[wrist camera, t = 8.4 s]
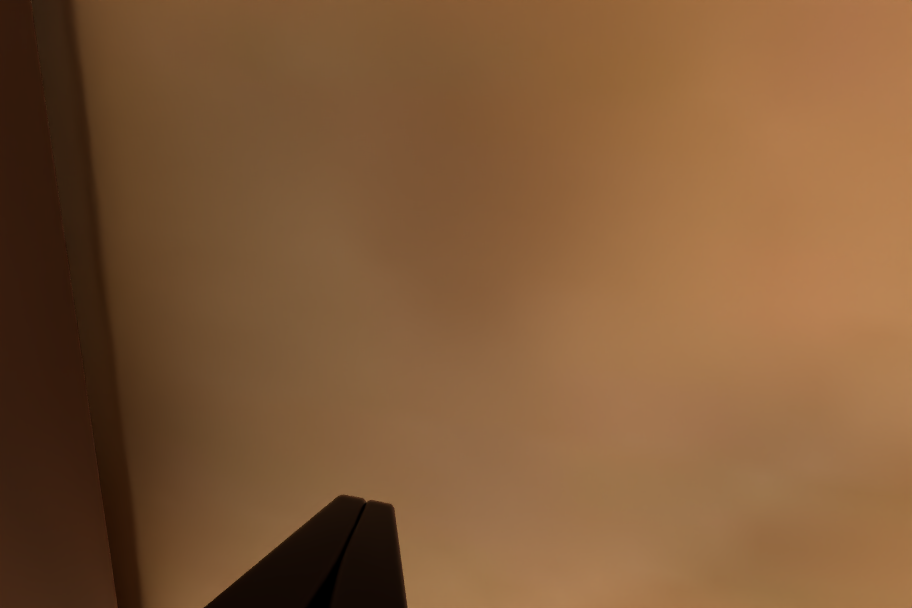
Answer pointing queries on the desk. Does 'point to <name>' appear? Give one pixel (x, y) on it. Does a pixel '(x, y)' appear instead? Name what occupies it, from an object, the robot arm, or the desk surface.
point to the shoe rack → (41, 363)
